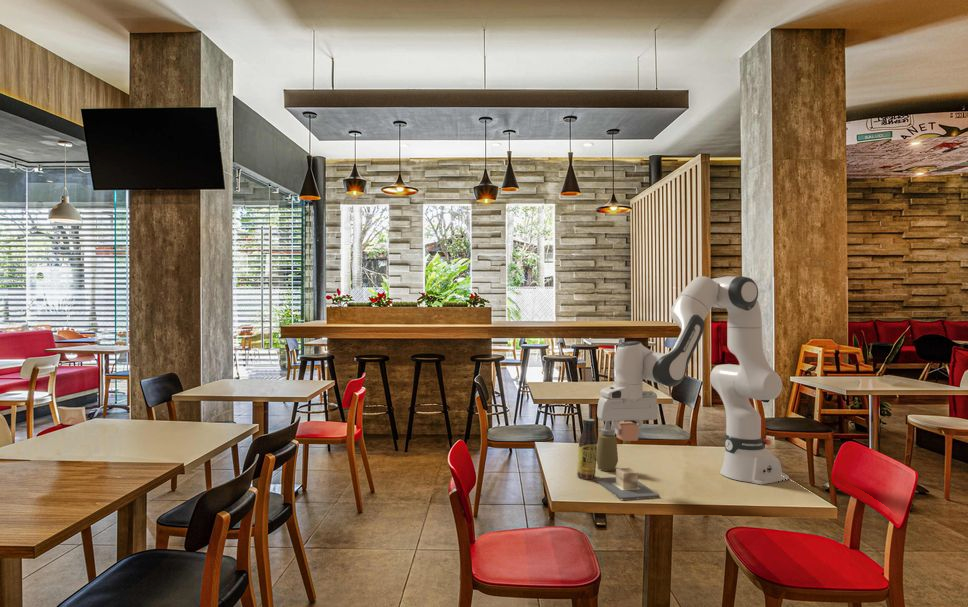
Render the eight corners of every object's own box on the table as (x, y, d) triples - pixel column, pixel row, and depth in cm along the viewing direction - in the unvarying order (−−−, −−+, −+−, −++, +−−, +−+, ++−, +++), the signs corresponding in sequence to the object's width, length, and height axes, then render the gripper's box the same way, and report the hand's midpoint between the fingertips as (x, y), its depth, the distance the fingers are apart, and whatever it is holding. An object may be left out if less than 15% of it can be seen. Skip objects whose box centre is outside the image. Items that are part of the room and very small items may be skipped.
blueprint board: (630, 478, 180) (630, 475, 180) (659, 497, 163) (659, 494, 163) (595, 480, 177) (595, 477, 177) (621, 500, 160) (621, 497, 160)
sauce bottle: (582, 480, 177) (583, 421, 177) (573, 474, 183) (575, 417, 183) (599, 479, 179) (600, 421, 179) (590, 473, 185) (592, 417, 185)
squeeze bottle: (619, 467, 192) (621, 418, 192) (615, 474, 185) (616, 423, 185) (597, 464, 195) (599, 416, 195) (592, 470, 188) (594, 420, 188)
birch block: (629, 482, 173) (629, 467, 173) (637, 488, 168) (637, 472, 168) (615, 483, 172) (616, 468, 172) (623, 489, 167) (623, 473, 167)
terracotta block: (630, 436, 173) (630, 421, 173) (638, 440, 168) (638, 424, 168) (616, 437, 172) (616, 421, 172) (623, 441, 167) (624, 425, 167)
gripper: (651, 389, 175) (650, 430, 175) (595, 390, 171) (594, 432, 171) (662, 392, 169) (661, 435, 169) (604, 393, 165) (603, 437, 165)
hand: (627, 433), depth 170 cm, fingers closed on terracotta block, 5 cm apart
